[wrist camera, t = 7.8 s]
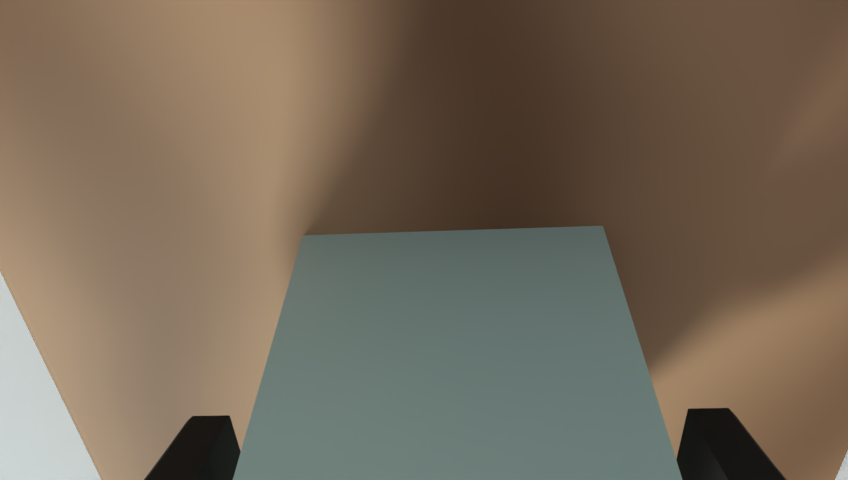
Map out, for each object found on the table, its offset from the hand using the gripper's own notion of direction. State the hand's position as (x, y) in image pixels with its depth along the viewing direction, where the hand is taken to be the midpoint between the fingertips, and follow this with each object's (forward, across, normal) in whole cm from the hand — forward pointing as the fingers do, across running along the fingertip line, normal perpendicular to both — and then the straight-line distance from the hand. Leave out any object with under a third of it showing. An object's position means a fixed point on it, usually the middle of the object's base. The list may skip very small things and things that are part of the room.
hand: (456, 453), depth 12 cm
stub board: (+4, 0, 0) cm, 4 cm away
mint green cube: (+2, 0, 0) cm, 2 cm away
